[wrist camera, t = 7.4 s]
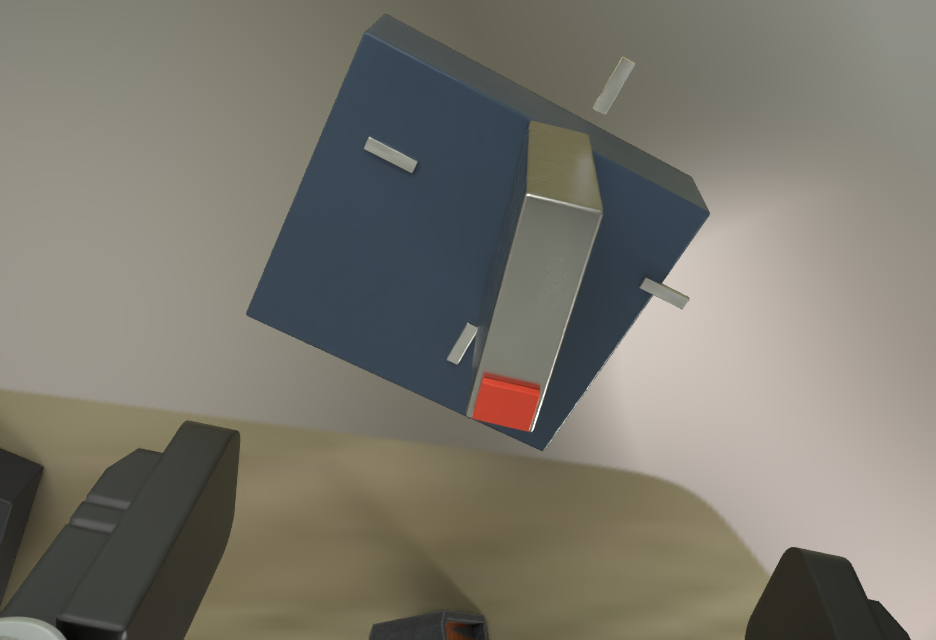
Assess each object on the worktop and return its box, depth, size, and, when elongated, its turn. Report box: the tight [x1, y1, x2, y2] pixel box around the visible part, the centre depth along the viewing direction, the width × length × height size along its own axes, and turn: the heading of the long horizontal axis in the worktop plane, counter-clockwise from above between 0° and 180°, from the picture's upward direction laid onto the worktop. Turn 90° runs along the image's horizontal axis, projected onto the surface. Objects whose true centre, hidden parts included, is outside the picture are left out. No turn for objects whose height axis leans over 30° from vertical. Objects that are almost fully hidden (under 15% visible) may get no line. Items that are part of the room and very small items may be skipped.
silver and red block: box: [466, 121, 604, 432], centre depth 20 cm, size 6×2×6 cm, turn 167°
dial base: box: [246, 14, 710, 451], centre depth 24 cm, size 11×11×3 cm
